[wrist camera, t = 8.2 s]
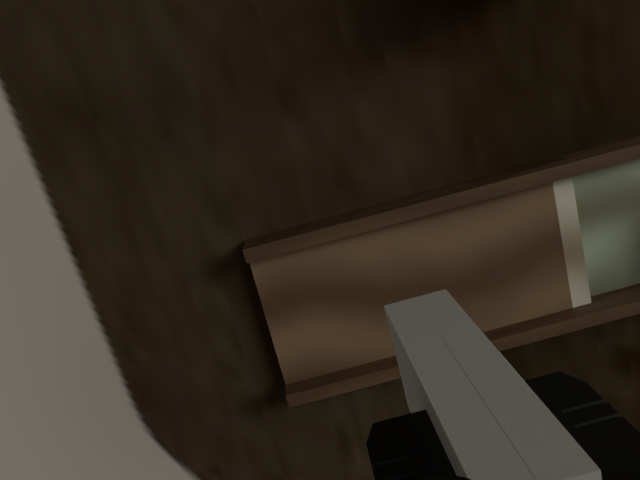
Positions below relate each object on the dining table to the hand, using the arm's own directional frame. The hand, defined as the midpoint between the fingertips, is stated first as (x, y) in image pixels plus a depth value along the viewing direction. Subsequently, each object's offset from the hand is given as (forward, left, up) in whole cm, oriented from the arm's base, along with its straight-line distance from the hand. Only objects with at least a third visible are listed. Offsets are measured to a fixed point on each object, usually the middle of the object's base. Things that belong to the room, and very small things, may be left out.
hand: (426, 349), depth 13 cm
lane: (+5, +12, -21) cm, 25 cm away
